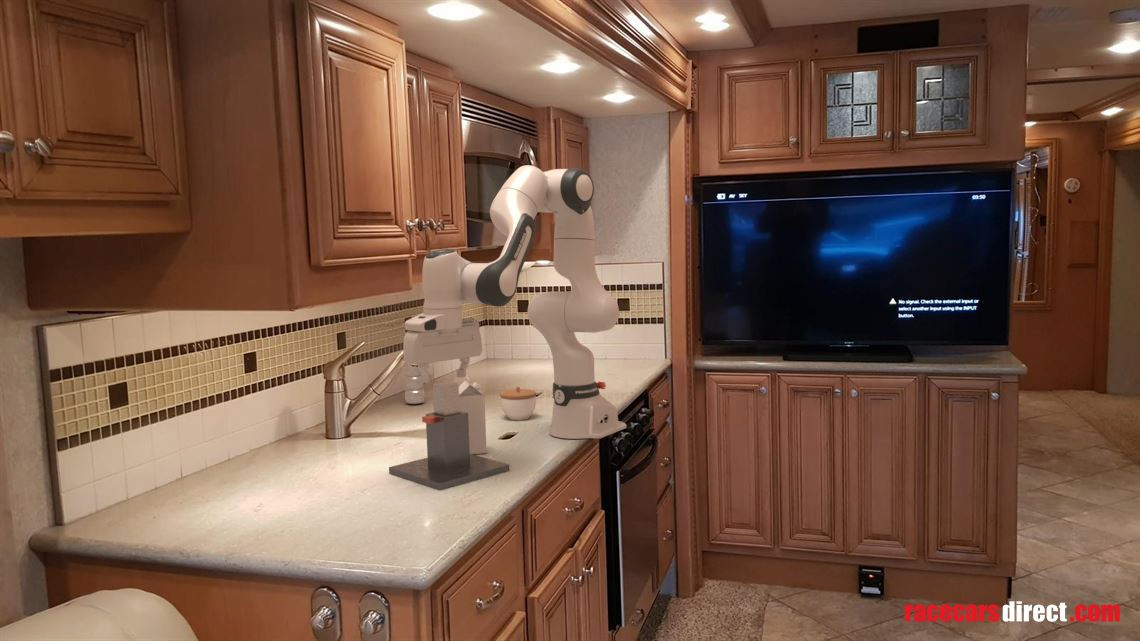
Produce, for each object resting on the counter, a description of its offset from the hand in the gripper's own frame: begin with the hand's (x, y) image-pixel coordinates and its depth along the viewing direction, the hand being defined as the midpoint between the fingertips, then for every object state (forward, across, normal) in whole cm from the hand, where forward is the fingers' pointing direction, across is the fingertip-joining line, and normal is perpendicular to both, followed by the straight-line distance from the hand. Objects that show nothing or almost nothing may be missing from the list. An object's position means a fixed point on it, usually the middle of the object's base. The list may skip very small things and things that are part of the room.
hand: (445, 379), depth 202 cm
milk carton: (+22, -15, -11) cm, 29 cm away
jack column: (+19, 0, 0) cm, 19 cm away
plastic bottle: (+21, -42, -73) cm, 87 cm away
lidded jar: (+22, -49, -31) cm, 62 cm away
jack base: (+22, 0, 0) cm, 22 cm away
